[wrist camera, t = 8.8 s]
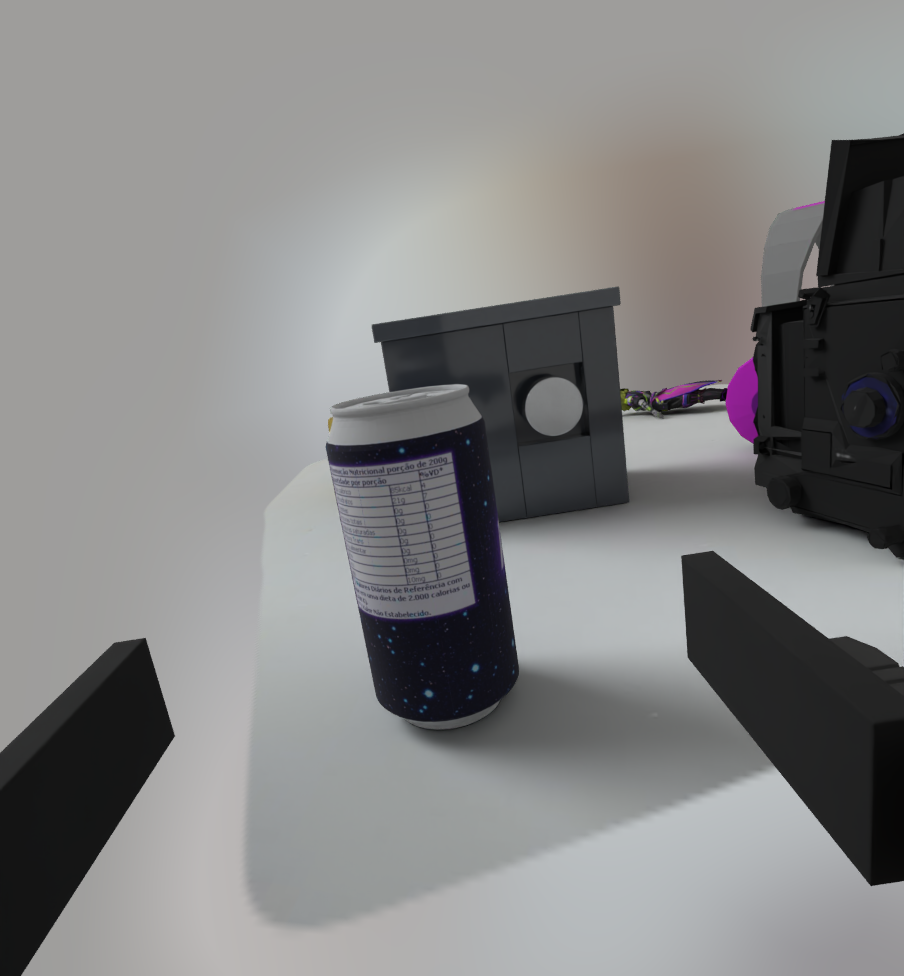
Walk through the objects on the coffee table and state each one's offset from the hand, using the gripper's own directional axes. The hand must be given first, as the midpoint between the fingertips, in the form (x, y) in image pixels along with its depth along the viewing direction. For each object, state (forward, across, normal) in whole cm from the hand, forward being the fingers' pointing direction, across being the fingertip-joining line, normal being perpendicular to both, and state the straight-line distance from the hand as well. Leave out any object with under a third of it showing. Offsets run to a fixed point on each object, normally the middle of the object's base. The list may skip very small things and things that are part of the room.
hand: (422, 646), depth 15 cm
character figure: (+64, +30, -7) cm, 71 cm away
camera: (+20, +25, -7) cm, 33 cm away
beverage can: (+8, 0, -7) cm, 11 cm away
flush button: (+29, +9, -1) cm, 30 cm away
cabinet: (+34, +6, -7) cm, 36 cm away
